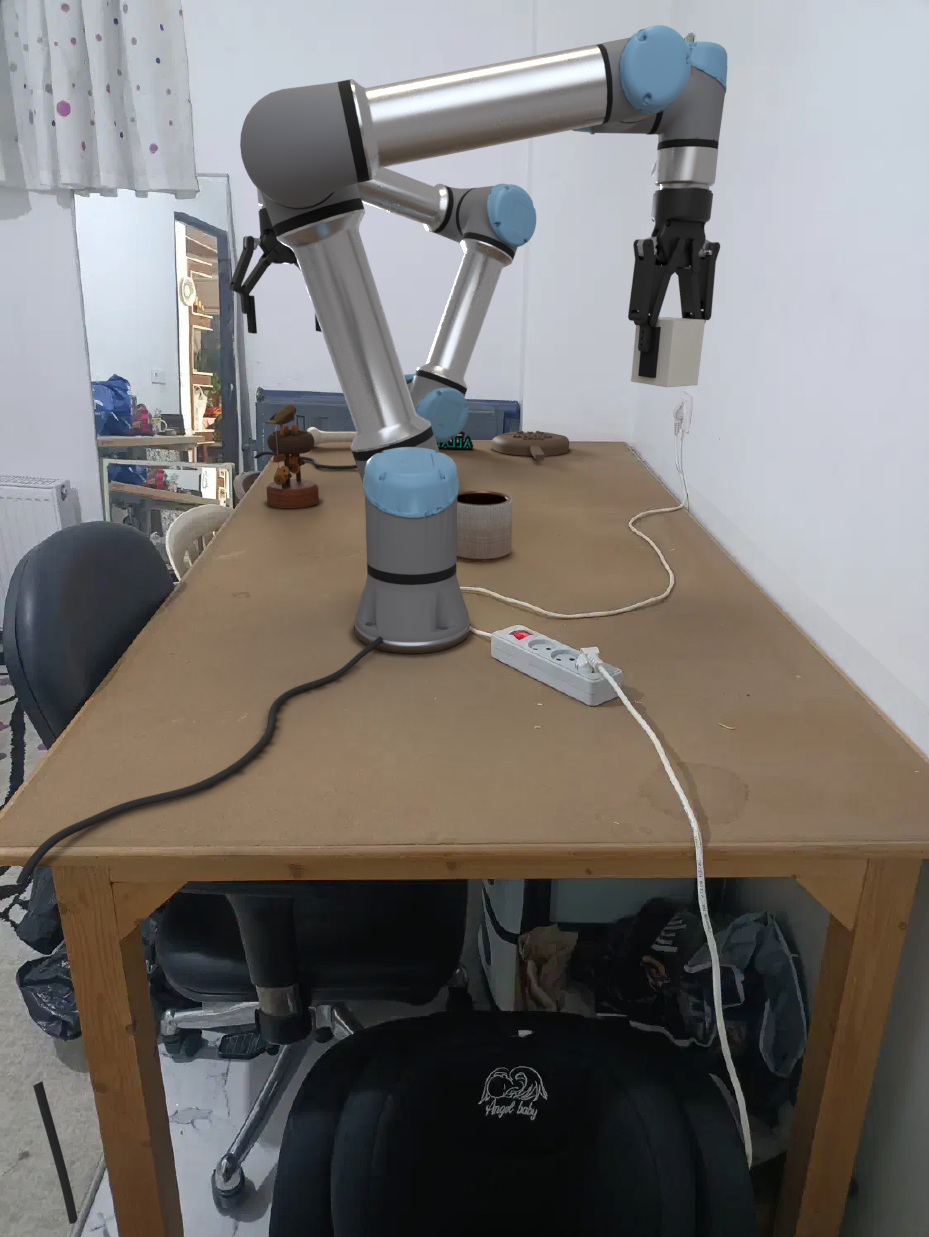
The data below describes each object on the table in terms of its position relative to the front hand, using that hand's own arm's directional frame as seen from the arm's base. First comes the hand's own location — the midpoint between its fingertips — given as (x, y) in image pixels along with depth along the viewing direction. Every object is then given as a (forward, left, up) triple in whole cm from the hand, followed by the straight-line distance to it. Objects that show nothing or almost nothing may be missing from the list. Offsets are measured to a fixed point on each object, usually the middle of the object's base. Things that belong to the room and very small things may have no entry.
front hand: (664, 375), depth 117 cm
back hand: (+41, +66, +2) cm, 78 cm away
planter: (+15, +26, -32) cm, 44 cm away
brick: (0, 0, -1) cm, 1 cm away
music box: (+44, +67, -32) cm, 86 cm away
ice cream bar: (+102, +19, -32) cm, 108 cm away
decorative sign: (+106, +45, -32) cm, 119 cm away
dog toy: (+104, +71, -32) cm, 130 cm away
